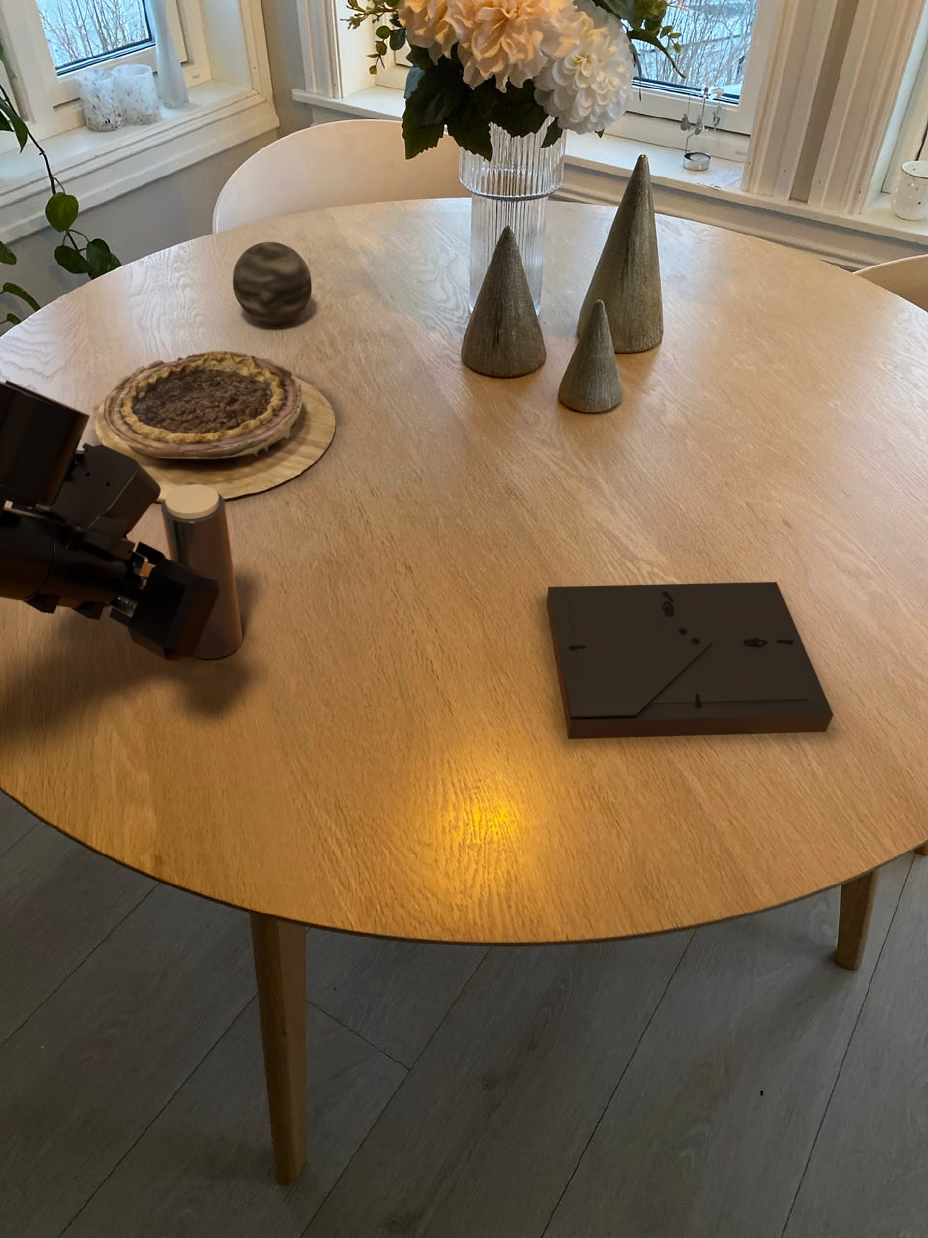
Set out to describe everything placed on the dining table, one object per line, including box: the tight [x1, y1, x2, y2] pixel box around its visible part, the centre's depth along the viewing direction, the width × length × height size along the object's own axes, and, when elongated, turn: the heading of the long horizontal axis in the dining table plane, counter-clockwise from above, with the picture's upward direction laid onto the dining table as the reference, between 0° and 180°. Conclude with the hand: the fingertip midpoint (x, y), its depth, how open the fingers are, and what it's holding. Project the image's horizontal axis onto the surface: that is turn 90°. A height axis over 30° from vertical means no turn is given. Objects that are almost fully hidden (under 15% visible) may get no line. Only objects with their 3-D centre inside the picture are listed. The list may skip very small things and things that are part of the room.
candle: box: [160, 484, 243, 660], centre depth 78 cm, size 5×5×15 cm
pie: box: [92, 350, 337, 503], centre depth 105 cm, size 28×27×5 cm
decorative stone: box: [232, 241, 313, 325], centre depth 123 cm, size 10×10×10 cm
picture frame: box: [546, 581, 834, 740], centre depth 81 cm, size 16×3×21 cm
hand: (179, 587), depth 76 cm, fingers closed
